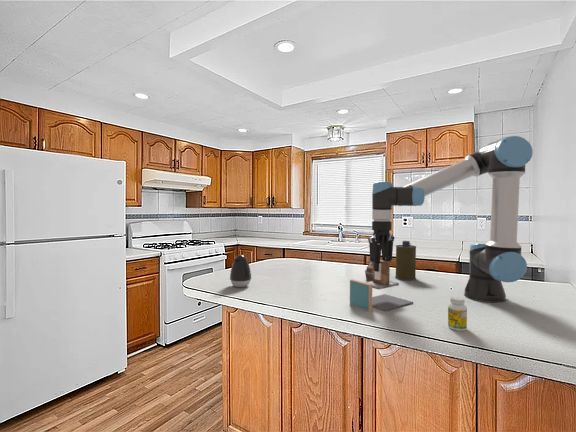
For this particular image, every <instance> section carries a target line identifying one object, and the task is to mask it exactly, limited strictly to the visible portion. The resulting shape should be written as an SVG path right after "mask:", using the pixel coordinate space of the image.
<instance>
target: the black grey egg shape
mask: <svg viewBox="0 0 576 432" xmlns="http://www.w3.org/2000/svg"><path fill="white" fill-rule="evenodd" d="M250 267H251V266H250V264H249V261H248V259H247V257H246V256H245V255H243V254H239V255H237V256H236V257H234V260H233V262H232V264H231V269H230V273H229V274H230V275H229V280H230V282H231V284H232V285H233V286H234V287H235V288H246V287H247V286H249V285H250V284H251V280H252V271H251V268H250Z"/></svg>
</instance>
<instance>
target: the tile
mask: <svg viewBox="0 0 576 432" xmlns="http://www.w3.org/2000/svg"><path fill="white" fill-rule="evenodd" d="M365 282H366V281H362V280H361V281H360V280H356V279H353V278H352V279H349V306H352V307H354V308H358V309H360V310H363V311H366V312H372V311H373V307H372V297H373V288H372V284H369V283H365Z"/></svg>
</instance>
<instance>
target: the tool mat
mask: <svg viewBox="0 0 576 432" xmlns="http://www.w3.org/2000/svg"><path fill="white" fill-rule="evenodd" d="M412 304H414V301H411V300H407V299H404V298H400V297H397V296H394V295H390V294H387V293H384V294H380V295H375V296H372V308H374V309H378V310H380V311H383V312H387V311H391V310H394V309H397V308H402V307H406V306H409V305H412Z"/></svg>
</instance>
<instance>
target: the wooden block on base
mask: <svg viewBox="0 0 576 432" xmlns="http://www.w3.org/2000/svg"><path fill="white" fill-rule="evenodd" d="M390 261H391V260H390ZM390 261H385V260H382V259H380V263H381V280H377V279H375V271H374V263H373V281H371V282H369V281H364V282H365V283H369V284H372V289H375V290H384V289H388V288H393V287H398V286H399V282H396V281H392V280H390V277H391V276H390V270H391V269H390V265H391V264H390V263H391V262H390Z"/></svg>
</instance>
